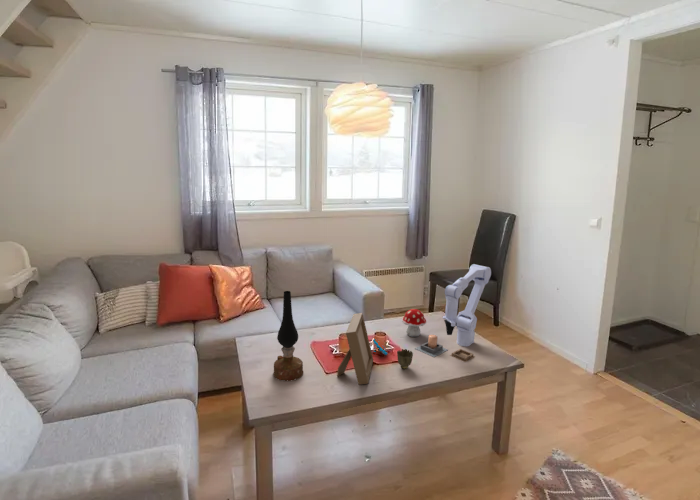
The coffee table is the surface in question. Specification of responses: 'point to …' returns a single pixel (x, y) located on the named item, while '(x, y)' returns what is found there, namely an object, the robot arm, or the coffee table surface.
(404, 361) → the cup
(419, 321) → the decorative mushroom
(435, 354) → the socket board
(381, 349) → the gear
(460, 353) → the holder
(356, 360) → the photo frame
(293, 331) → the oil lamp
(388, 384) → the coffee table surface
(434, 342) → the peg
